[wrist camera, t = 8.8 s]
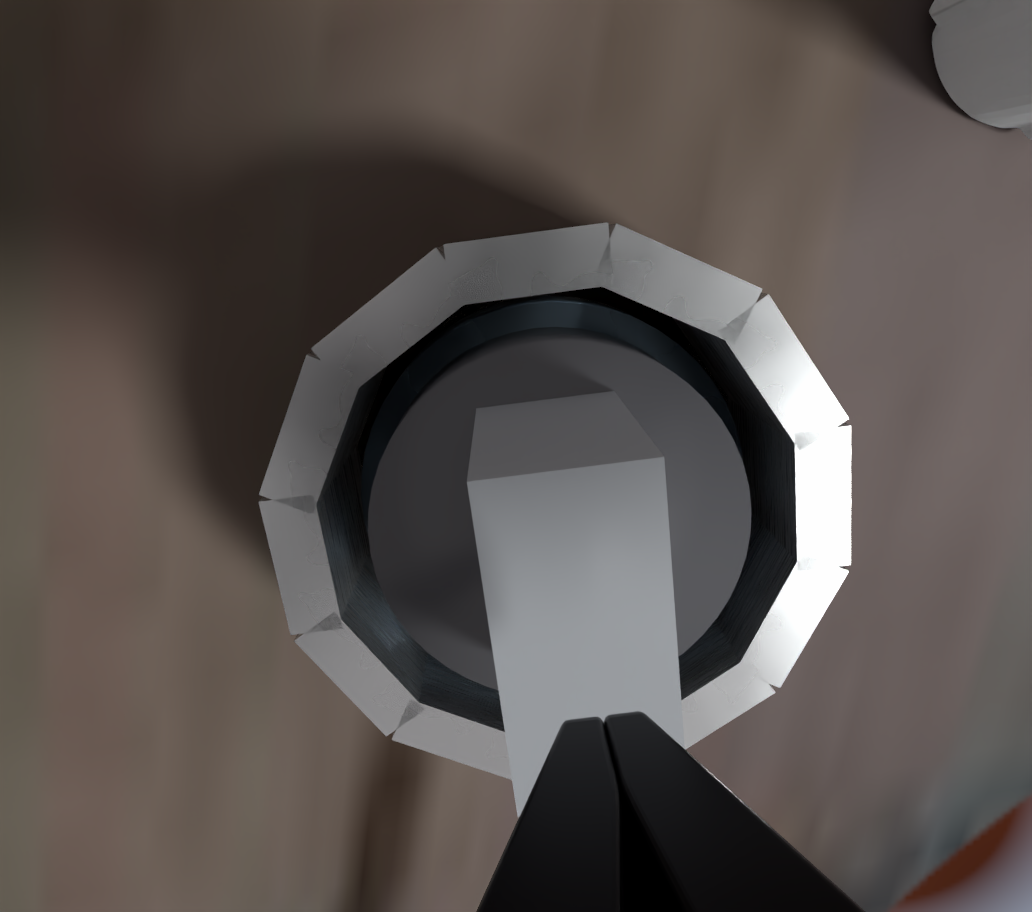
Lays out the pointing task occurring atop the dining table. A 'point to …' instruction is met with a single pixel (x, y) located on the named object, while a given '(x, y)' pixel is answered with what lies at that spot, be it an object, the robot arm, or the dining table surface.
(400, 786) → the dining table surface
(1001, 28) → the photo printer
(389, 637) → the faceted white dish
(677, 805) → the robot arm
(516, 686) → the grey knob
